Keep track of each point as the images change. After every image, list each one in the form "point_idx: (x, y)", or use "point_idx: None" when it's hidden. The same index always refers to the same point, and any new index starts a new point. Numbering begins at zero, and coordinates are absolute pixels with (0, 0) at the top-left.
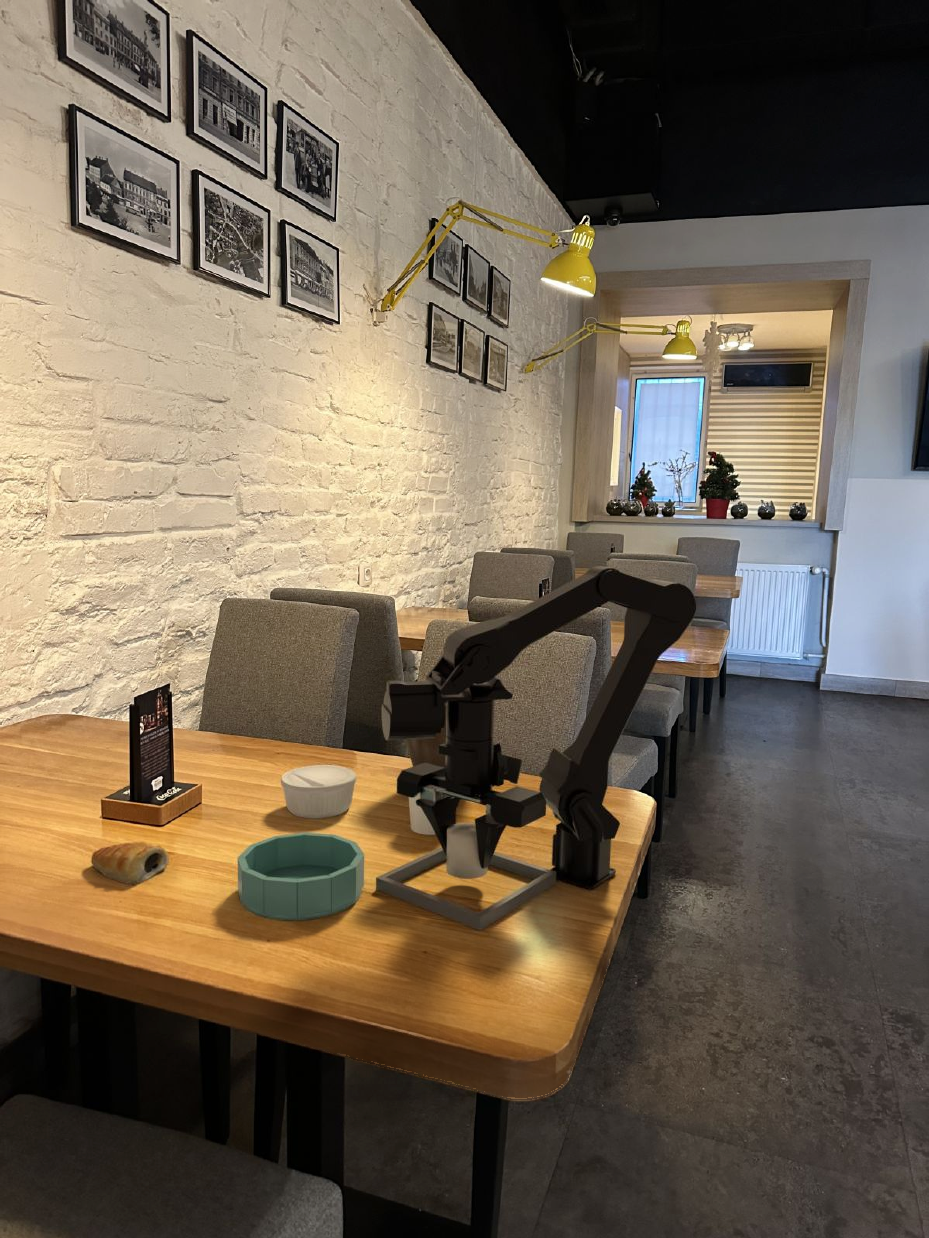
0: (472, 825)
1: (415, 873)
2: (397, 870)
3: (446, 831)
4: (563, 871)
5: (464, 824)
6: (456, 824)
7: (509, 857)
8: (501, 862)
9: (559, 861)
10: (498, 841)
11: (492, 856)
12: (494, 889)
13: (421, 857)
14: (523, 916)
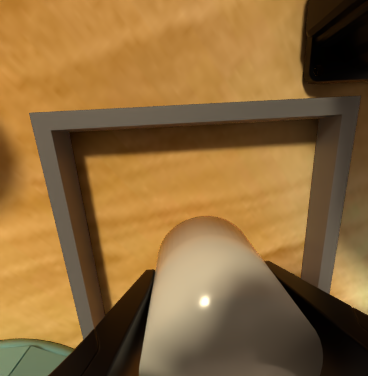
0: (211, 327)
1: (95, 268)
2: (89, 325)
3: (138, 371)
4: (357, 61)
5: (174, 341)
6: (148, 364)
7: (217, 106)
8: (200, 123)
9: (352, 34)
10: (350, 307)
11: (292, 274)
12: (246, 213)
13: (68, 257)
14: (338, 254)
